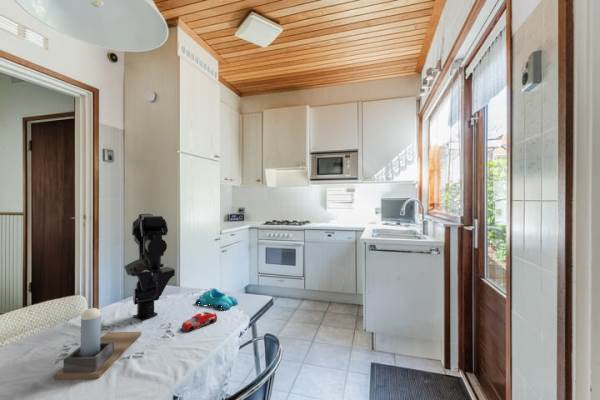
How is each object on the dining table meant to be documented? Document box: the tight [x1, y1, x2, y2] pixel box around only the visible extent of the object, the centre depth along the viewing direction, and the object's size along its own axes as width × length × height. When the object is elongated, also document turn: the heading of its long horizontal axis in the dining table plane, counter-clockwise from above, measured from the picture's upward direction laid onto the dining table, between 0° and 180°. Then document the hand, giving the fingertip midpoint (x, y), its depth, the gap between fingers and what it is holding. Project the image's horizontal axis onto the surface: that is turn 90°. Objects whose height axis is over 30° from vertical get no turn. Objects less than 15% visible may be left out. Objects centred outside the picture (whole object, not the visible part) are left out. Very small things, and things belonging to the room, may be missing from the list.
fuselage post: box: [79, 307, 102, 357], centre depth 74 cm, size 4×4×15 cm
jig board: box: [53, 331, 142, 381], centre depth 80 cm, size 22×11×5 cm, turn 5°
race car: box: [181, 311, 218, 332], centre depth 100 cm, size 13×5×4 cm, turn 136°
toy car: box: [195, 288, 239, 311], centre depth 120 cm, size 11×18×7 cm, turn 68°
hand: (151, 293), depth 96 cm, fingers open, 9 cm apart
